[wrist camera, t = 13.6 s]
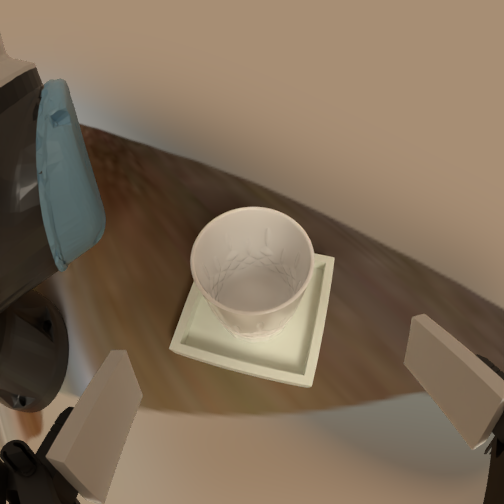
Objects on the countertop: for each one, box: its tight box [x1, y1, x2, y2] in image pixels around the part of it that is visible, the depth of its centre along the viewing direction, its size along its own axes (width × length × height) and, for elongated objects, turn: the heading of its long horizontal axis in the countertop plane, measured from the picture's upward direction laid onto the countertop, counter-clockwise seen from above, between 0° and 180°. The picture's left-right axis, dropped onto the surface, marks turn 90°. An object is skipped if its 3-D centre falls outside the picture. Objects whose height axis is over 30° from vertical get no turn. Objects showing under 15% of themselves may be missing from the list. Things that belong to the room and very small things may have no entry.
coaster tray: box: [169, 253, 335, 388], centre depth 26 cm, size 13×13×2 cm
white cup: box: [190, 207, 315, 343], centre depth 22 cm, size 8×8×10 cm
